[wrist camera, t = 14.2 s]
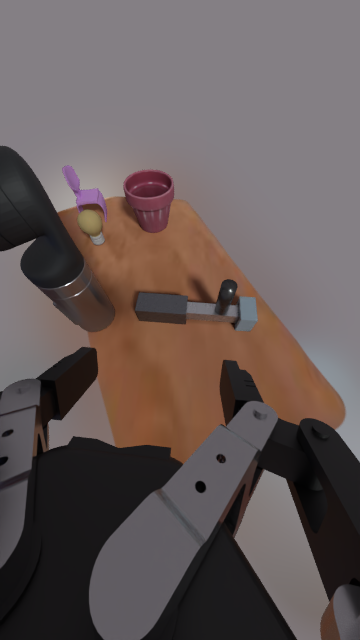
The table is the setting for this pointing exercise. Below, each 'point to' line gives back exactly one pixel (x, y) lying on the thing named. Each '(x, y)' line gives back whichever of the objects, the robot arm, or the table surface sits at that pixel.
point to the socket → (246, 314)
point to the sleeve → (161, 308)
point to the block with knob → (217, 306)
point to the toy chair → (83, 191)
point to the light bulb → (91, 225)
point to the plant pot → (150, 198)
